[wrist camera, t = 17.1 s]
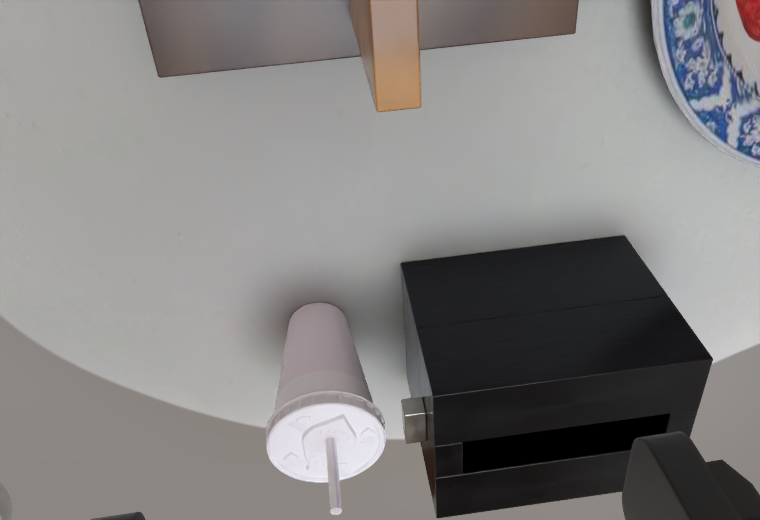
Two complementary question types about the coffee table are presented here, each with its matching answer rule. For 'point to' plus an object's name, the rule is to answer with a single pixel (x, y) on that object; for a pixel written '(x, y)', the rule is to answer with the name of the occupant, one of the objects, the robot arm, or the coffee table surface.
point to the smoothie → (323, 404)
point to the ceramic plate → (713, 68)
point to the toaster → (541, 371)
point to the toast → (389, 51)
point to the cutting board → (325, 29)
